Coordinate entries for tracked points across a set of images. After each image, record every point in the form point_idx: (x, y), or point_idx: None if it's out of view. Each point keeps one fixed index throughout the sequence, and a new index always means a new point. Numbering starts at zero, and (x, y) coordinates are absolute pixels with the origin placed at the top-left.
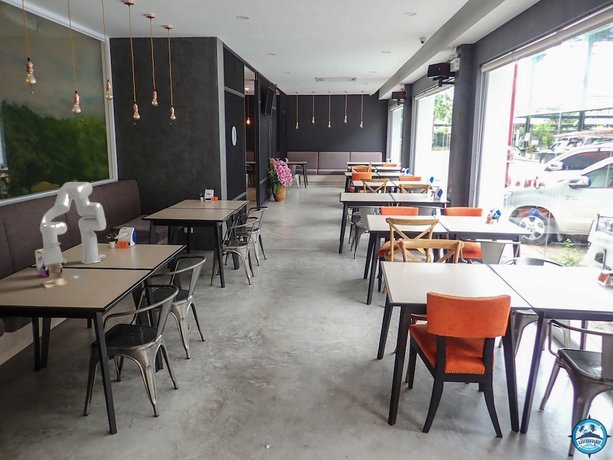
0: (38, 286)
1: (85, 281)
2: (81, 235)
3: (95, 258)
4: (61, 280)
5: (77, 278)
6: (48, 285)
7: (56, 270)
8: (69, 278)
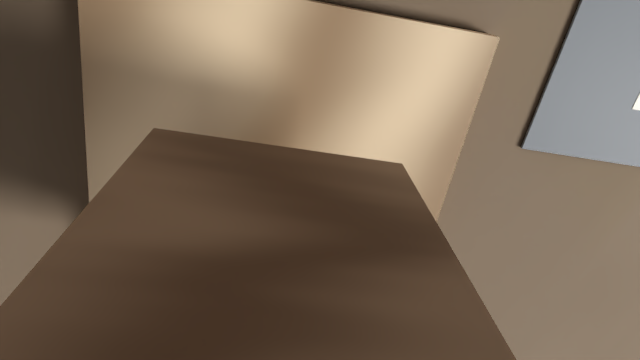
0: (5, 105)
1: (577, 345)
2: None
3: None
4: (398, 145)
5: (633, 162)
6: None
7: None
8: (577, 55)
